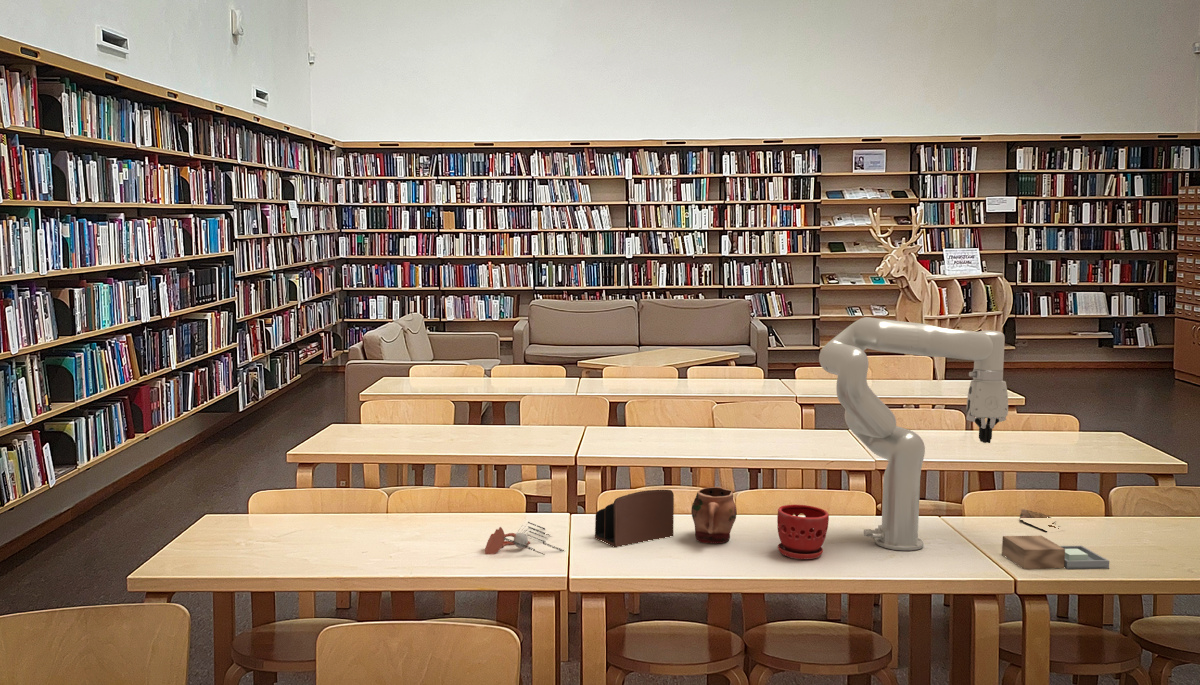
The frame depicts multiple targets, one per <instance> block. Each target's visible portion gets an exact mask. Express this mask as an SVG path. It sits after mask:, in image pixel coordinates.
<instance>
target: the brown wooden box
mask: <svg viewBox="0 0 1200 685" xmlns="http://www.w3.org/2000/svg"><path fill="white" fill-rule="evenodd" d="M1060 546H1061V545H1059V544H1057V543H1055V542H1053V541H1051V540H1050V539H1048V538H1046V537H1045V536H1042V535H1003V536H1002V543H1001V555H1002V554H1003V555H1004V556H1003V555H1002V556H1003V557H1005V556H1006V557H1007V558H1006V557H1005V558H1006V559H1008V558H1009V559H1010V560H1009V559H1008V560H1009V561H1011V562H1012V561H1013V562H1012V563H1014V564H1015V563H1016V564H1015V565H1017V566H1018V565H1019V567H1020V568H1021V567H1022V568H1021V569H1023V570H1047V569H1046V568H1064V560H1065V549H1064V548H1062V547H1060ZM1064 569H1065V568H1064Z"/></svg>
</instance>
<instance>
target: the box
mask: <svg viewBox="0 0 1200 685" xmlns="http://www.w3.org/2000/svg"><path fill="white" fill-rule="evenodd" d="M1059 546H1060V547H1062V548H1064V549H1079V550H1081V551H1083V552H1085V553H1086V554H1088V560H1082V561H1068V560H1066V559H1065V560H1064V567H1065V568H1064V569H1066V570H1094V569H1095V570H1096V569H1098V570H1100V569H1102V570H1104V569H1105V570H1106V569H1107V570H1108V569H1110V560H1109V559H1107V558H1106V557H1103V556H1102V555H1099V554H1098V553H1096V552H1094V551H1092V550H1091V549H1089V548H1087V547H1084V546H1083V545H1059Z"/></svg>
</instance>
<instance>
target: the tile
mask: <svg viewBox="0 0 1200 685" xmlns="http://www.w3.org/2000/svg"><path fill="white" fill-rule="evenodd" d="M1065 559H1066V560H1068V561H1082V560H1088V554H1086V553H1085V552H1083V551H1081V550H1079V549H1065Z"/></svg>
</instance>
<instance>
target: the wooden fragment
mask: <svg viewBox="0 0 1200 685" xmlns="http://www.w3.org/2000/svg"><path fill="white" fill-rule="evenodd" d="M1047 517H1048V518H1052V517H1050V515H1048V514H1044V513H1042V512H1037V511H1032V510H1030V509H1023V508H1022V509H1021V511H1020V515H1019V519H1020V518H1047ZM1054 523H1055V522H1054ZM1054 523H1052V524H1054ZM1048 526H1049V527H1054V528H1056V527H1055V526H1052V525H1048ZM1058 529H1059V528H1058Z"/></svg>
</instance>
